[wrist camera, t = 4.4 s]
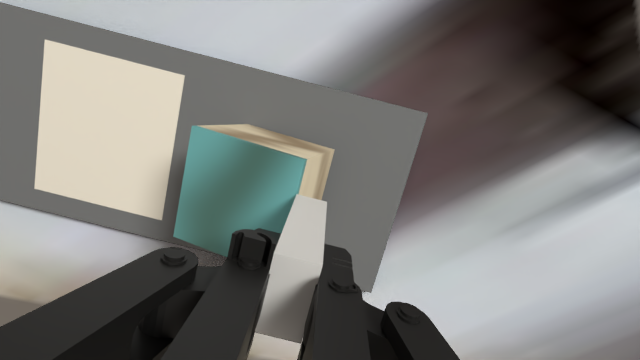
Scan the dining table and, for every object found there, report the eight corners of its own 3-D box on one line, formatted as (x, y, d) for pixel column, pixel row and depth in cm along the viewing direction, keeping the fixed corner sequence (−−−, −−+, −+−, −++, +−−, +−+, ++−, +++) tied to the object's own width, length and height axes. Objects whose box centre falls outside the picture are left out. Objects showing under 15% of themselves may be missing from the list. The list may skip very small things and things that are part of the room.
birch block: (334, 149, 22) (304, 160, 17) (311, 238, 24) (276, 276, 18) (247, 124, 24) (191, 125, 18) (230, 209, 25) (173, 236, 19)
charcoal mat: (425, 113, 24) (428, 113, 23) (370, 288, 26) (371, 292, 26) (0, 2, 23) (-10, -1, 22) (-8, 193, 26) (-17, 196, 25)
